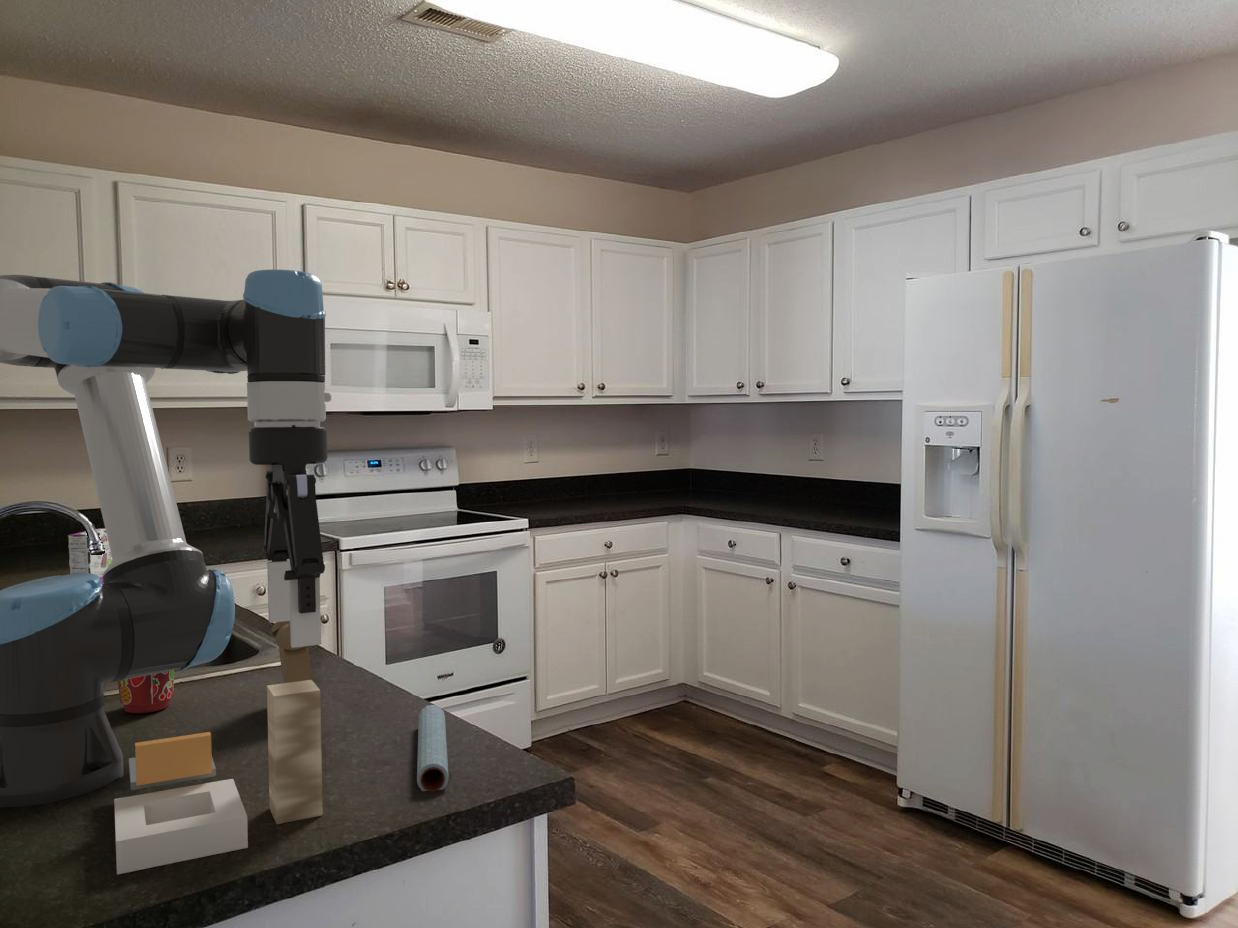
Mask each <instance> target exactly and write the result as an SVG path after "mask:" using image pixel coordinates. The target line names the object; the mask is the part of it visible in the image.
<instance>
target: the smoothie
mask: <svg viewBox="0 0 1238 928" xmlns="http://www.w3.org/2000/svg"><path fill="white" fill-rule="evenodd" d="M117 685H118V696H119V697H118V698H119V703H120V704H122V705H123V709H124V712H127V713H130V714H147V713H153V712H158V711H160V710H161V711H162V710H163V709H165V708H167V707H168V706H169V705H170V702H171V698H173V696H174V689H175V687H174V686H175V670H172V671H167V672H162V673H157V674H152V675H147V676H142V677H137V678H132V679H126V680H121V681H117Z"/></svg>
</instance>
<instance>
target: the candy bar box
mask: <svg viewBox="0 0 1238 928" xmlns="http://www.w3.org/2000/svg"><path fill="white" fill-rule="evenodd" d="M95 530H96V531H97V533H98V535H99V537H100V539H101V541H102V542H103V545H104V548H105V553H104V554H102V555H91V554H90V551H89V538H88V536H87V533H86V531H87V530H86V531H79V532H77V533H76V532H75V533H73V534H68V535H67V542H68V543H67V545H68V560H69V561H68V562H69V563H68V564H69V565H68V566H69V574H73V573H92V574H96V575H97V576H99V578H100V580H101V581H102V583H103V578H102V575H103V573H104V571H105V570H106V569H107V568H108V566H109V565H110V564H111V562H112V560H113V559H112V555H111V551H110V546H109V542H108V538H107V533H106V529H105V528H96V529H95ZM103 584H104V583H103Z"/></svg>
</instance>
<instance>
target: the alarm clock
mask: <svg viewBox="0 0 1238 928" xmlns="http://www.w3.org/2000/svg"><path fill="white" fill-rule="evenodd" d="M271 634H272V636H274V637H275V643H276V645H277V646H278V649H279V652H278V653H279V658H280V666H281V667H280V668H281V675H282V681H283V683H290V682H298V681H306V680H312V681H313V682H314V676H313V669H312V668H313V667H312V662H311V657H310V651H309V646H303V647H295V648H292V647H291V636H290V621H283V622H274V623H273V626H272V628H271Z"/></svg>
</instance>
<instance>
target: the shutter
mask: <svg viewBox="0 0 1238 928" xmlns="http://www.w3.org/2000/svg"><path fill="white" fill-rule="evenodd" d="M134 749H135V750H134V754H135V757H128V769H129V770H128V771H129V784H130V791H136V790H142V789H146V788H152V787H159V786H165V785H171V784H177V783H182V782H183V783H184V782H188V781H189V782H190V781H194V780H195V781H196V780H200V779H208V778H212V777H216V776H217V767H216V765H215V762H214V759H213V756H212V734H211V731H207V732H201V733H200V732H198V733H194V734H186V735H181V736H180V735H179V736H174V737H166V738H159V739H153V740H146V741H140V742H135V743H134Z"/></svg>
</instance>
